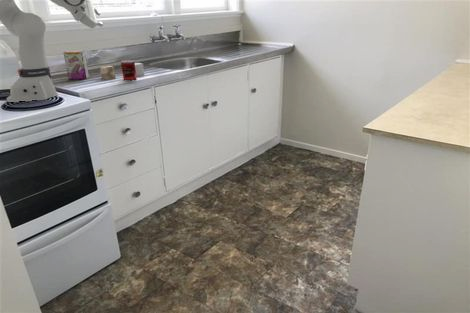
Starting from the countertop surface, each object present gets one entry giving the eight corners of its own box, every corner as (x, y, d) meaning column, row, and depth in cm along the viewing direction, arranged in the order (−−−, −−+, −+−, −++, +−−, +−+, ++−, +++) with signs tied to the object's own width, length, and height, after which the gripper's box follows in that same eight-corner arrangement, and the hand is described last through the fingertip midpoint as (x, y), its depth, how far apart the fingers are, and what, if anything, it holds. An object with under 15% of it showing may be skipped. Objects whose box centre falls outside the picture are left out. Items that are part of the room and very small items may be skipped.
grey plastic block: (136, 76, 223) (134, 64, 220) (130, 75, 227) (129, 64, 224) (144, 74, 227) (142, 63, 225) (138, 73, 231) (137, 62, 228)
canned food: (131, 78, 218) (128, 59, 213) (139, 79, 213) (137, 60, 209) (120, 80, 212) (117, 61, 208) (128, 81, 208) (126, 62, 203)
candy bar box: (68, 79, 218) (62, 52, 211) (71, 78, 222) (66, 51, 216) (86, 79, 218) (81, 51, 211) (89, 77, 222) (84, 50, 216)
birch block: (106, 79, 215) (104, 67, 213) (101, 78, 219) (99, 66, 216) (115, 77, 220) (113, 66, 217) (110, 76, 223) (108, 65, 220)
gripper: (71, -2, 188) (94, 11, 199) (75, 22, 179) (100, 35, 190) (77, -11, 186) (101, 3, 197) (82, 13, 176) (107, 27, 187)
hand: (100, 19), depth 193 cm, fingers open, 8 cm apart
